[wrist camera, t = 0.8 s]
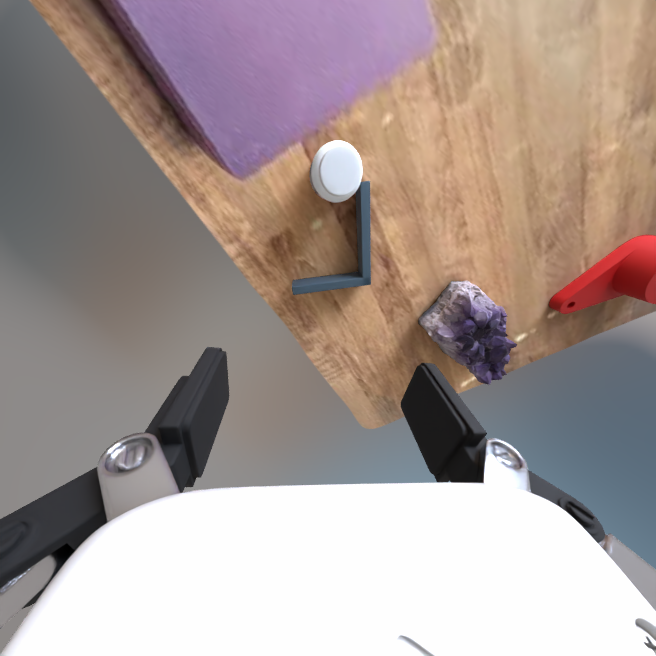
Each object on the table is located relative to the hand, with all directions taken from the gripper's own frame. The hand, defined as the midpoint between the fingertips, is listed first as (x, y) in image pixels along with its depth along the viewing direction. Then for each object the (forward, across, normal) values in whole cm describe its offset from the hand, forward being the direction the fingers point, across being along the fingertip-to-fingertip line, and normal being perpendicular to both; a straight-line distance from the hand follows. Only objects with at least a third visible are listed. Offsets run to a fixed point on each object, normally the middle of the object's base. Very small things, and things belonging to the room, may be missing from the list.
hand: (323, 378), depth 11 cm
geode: (+27, -30, +9) cm, 41 cm away
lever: (+27, -52, -3) cm, 59 cm away
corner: (+27, -2, -2) cm, 27 cm away
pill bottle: (+27, -2, -10) cm, 29 cm away
